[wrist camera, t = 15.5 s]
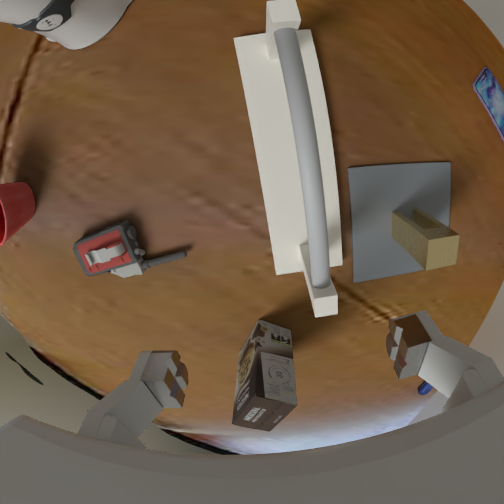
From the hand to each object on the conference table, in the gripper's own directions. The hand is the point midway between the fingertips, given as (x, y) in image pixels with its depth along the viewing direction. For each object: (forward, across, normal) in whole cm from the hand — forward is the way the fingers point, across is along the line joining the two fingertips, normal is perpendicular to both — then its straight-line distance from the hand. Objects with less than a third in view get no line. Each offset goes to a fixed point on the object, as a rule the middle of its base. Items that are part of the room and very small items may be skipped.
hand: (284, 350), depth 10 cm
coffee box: (+29, +5, +28) cm, 41 cm away
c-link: (+29, -20, +9) cm, 36 cm away
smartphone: (+30, -44, -10) cm, 55 cm away
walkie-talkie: (+30, +24, +6) cm, 39 cm away
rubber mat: (+29, -20, +9) cm, 37 cm away
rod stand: (+30, -4, -3) cm, 30 cm away
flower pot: (+31, +45, -8) cm, 55 cm away
